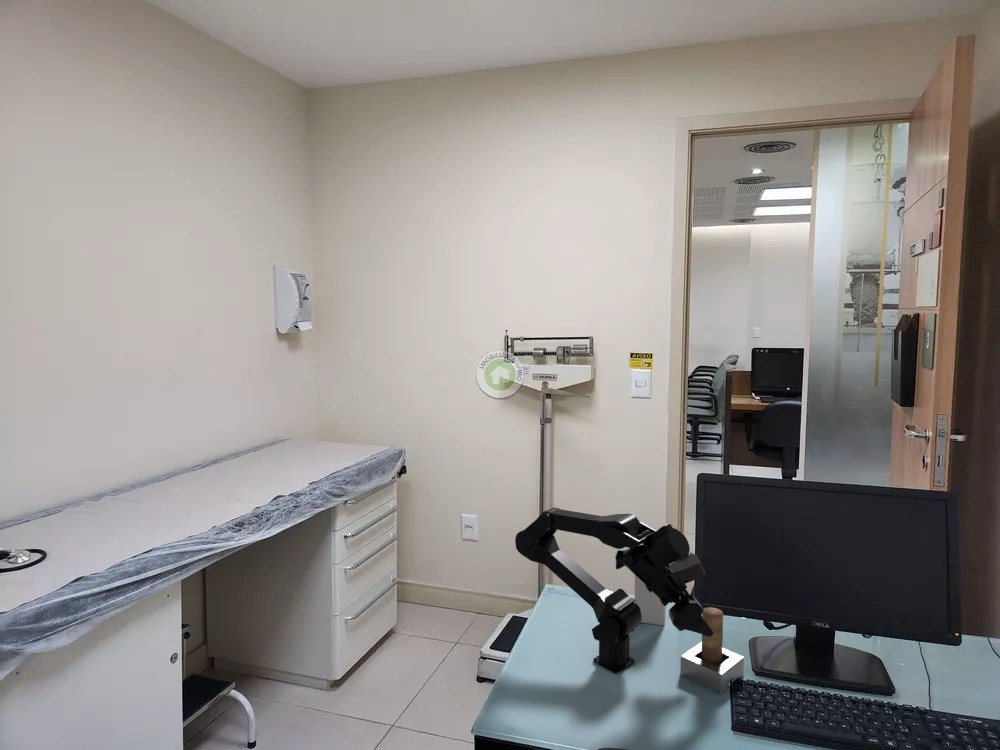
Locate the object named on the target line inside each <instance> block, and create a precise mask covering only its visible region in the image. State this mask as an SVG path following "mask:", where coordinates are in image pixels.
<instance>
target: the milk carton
mask: <svg viewBox="0 0 1000 750" xmlns="http://www.w3.org/2000/svg"><path fill="white" fill-rule="evenodd" d="M633 598H634V599H635V600H636V601H634V602H635V603H636V604H637V605H638V606H639V607H640V609H641V610H640V611H641V615H642V620H641V623H644V624H651V625H658V626H659V625H660V626H665V625H666V624H665V623H666V613H667V605H666V606H664V605H663V604H662V603H661V601H660V599H659V598H658V597H657V596H656V595H655V594H654V593H653V592H651V593H650V592H649V591H648V590H647V588H646V586H645V584H644V583H643V582H642V581H641V580H640V579H639V578H638V577H637V576H636V575H635V574H634V597H633Z"/></svg>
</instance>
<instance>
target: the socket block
mask: <svg viewBox="0 0 1000 750" xmlns="http://www.w3.org/2000/svg"><path fill="white" fill-rule="evenodd" d="M701 656H702V641H700V642H699V643H697V644H695V646H693V647H692V648H690V649H688V650H687V651H686V652H685V653H683V654H682V655H680V672H679V673H680V675H681V676H683V677H685V678H687V679H690V680H691V681H694V682H695V683H698V684H699V685H702V686H704V687H706V688H708V689H710V690H711V691H715V692H716V693H718V694H721V695H722V694H723V693H724V692H725V691H727V690H728V689H729V688H730V687H729V683H730V680H731V679H732V678H740V679H741V678H743V676H744V669H745V667H744V666H745V665H744V663H745V657H744V656H742V655H741V654H738V653H736V652H733V651H730V650H729V649H726V648H725V647H722V664H721V665H719V666H718V667H717V666H715V665H713V664H710V663H708V662H706V661H704V660H701ZM728 687H729V688H728Z"/></svg>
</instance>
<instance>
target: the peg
mask: <svg viewBox="0 0 1000 750" xmlns="http://www.w3.org/2000/svg"><path fill="white" fill-rule="evenodd" d="M702 617H703V618H704V620H705V621H706V623H707V624H708V625H709V627H710V628H711V630H712V631H713V633H714V634H713V635H712V636H711V637H709V636H706V635H703V634H701V642H702V656H701V660H704V661H706V662H708V663H710V664H713V665H715V666H717V667H718V666H719V665H721V664H722V648H723V637H724V636H723V634H724V633H723V632H724V631H723V630H724V629H723V628H724V611H722V610H721V609H719V608H716V607H705V608H704V607H703V613H702Z"/></svg>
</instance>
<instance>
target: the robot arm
mask: <svg viewBox="0 0 1000 750" xmlns="http://www.w3.org/2000/svg"><path fill="white" fill-rule="evenodd" d="M557 531H563V532H567V533H573V534H578V535H582V536H587V537H593V538H596V539H597V540H599V541H600V542H601V543H602V544H604V545H606V546H609V547H611V548H613V549H616V550H617V549H618V550H617V551H616V553H615V556H614V557H615V569H616V570H619V569H622V568H624V567H626V568H627V569H628V570H629V572H630V571H631V573H633V575H634V576H635V575H636V576H637V577H638V578H639V579H640V580H641V581H642V582H643V583H644V584H645V586H646V588H647V590H648V591H649V592H650V593H651V592H653V593H654V594H655V595H656V596H657V597H658V598H659V599H660V601H661V603H662V604H663V605H664V606H666V607H667V606H668V604H671V603H674V605H672V607H670V608H669V609H668V617H669V619H670V621H671V623H672V625H673V626H674V628H676V629H677V630H678V631H679V632H682V631H685V630H686V631H690V632H693V633H697V634H700V635H702V634H703V635H706V636H709V637H711V636H712V635H713V634H714V633H713V631H712V630H711V628H710V627H709V625H708V624H707V623H706V621H705V620H704V618H703V617H702V613H703V609H704V607H703V606H702V604H701V603H700V602H699V600H698V599H697V598H696V597H695V596H694V595H693V594H690V593H689V591H688V590H687V588H688V586H687V584H689V583H691V582H693V581H696V580H697V579H703V578H704V577H705V576H706V574H707V573H706V571H705V569H704V568H703V565H702V563H701V560H700V559H699V557H698V556H697V554H695V553H693V552H692V551H691V552H690V544H689V541H688V539H687V537H686V536H685V534H683V533H682V532H681V531H680V530H679V529H677V528H674V527H673V526H672V524H671V523H670V522H668V523H665V525H663V526H661V527H659V528H658V529H657V530H656V529H655V528H653V527H651V526H649V525H648V524H646V523H644V522H642V521H640V520H639V519H638V517H637V516H636V515H635V514H632V513H616V514H615V513H614V514H609V515H598V514H597V515H596V514H591V513H584V512H580V511H574V510H573V511H572V510H568V509H561V508H559V507H556V506H555V507H552V508H551V507H550V508H549V509H547V510H544V511H542V512H541V513H540V515H538V517H537V518H536V519H535V520H534V521H533V522H531V523H530V524H529V525H528V526H527V527H525V528H524V529H523V530H520V531H519V532H517V533H516V534H515V538H514V539H515V541H514V542H515V543H514V544H515V549H516V550H517V552H518V553H519V554H520V555H521V556H523V557H525V559H528V561H531V562H534V563H538V564H540V565H544V566H545V567H547V568H548V570H550V571H551V572H552V573H553V574H554V575H555V576H556V577H558V579H560V580H561V581H562V582H563V583H564V584H565V585H566V586H568V587H569V589H571V590H572V591H573V592H574V593H576V595H578V597H580V598H581V599H582V600H583V601H584V602H585V603H587V604H588V605H589V606H590V607H591V608H592V609H593V612H594V615H595V617H596V620H597V622H598V624H597V625H595V626H594V627H593V628H591V632H592V636H593V639H594V640H596V641H598V656H597V655H596V657H594V658H593V659H592V662H593V663H595V664H596V665H598V666H601V667H603V668H604V669H606V670H608V671H610V672H611V673H614V674H616V675H617V674H620V673H621V672H623V671H624V670H626V669H627V668H629V667H630V666H631V665H634V664H635V662H636V661H635V659H634V658H633V657H630V633H632V632H634V631H635V629H636V628H637V627H638V626H639V625H640V624H641V623H642V622H641V620H642V615H641V611H640V610H641V609H640V607H639V606H638V605H637V604H636V603H635V602H634V601H636V600H635V599H634V597H631V596H630V595H629V594H628V593H627V592H626V591H625V590H624V589H623V588H621V587H619V588H618V589H616V590H614V591H612V590H609V589H607V588H606V586H604V585H602V584H601V583H600V582H599V581H598V580H597V579H595V578H594V577H593V576H592V575H591V574H590V573H589V572H587V571H586V570H585V569H584V568H583V567H581V566H580V565H579V564H578V563H576V561H575V560H574V559H572V558H571V557H570V556H568V555H567V554H566V553H565V552H564V551H563V550H562V549H560V547H559V545H558V542H557V539H556V537H555V533H557ZM624 548H626V549H625V550H621V549H624ZM627 548H628V549H627Z"/></svg>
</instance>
